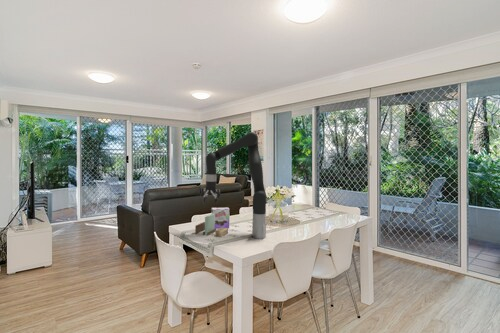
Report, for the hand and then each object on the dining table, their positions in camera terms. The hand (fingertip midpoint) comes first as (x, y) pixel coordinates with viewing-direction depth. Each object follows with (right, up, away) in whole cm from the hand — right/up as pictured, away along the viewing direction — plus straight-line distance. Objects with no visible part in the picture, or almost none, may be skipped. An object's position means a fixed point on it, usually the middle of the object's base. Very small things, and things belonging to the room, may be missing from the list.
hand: (210, 202), depth 202 cm
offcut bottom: (+8, -24, -2) cm, 25 cm away
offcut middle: (+8, -22, -2) cm, 24 cm away
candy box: (+5, -23, +17) cm, 29 cm away
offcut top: (+8, -20, -2) cm, 22 cm away
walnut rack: (-4, -23, +2) cm, 23 cm away
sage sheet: (-1, -23, +1) cm, 23 cm away
